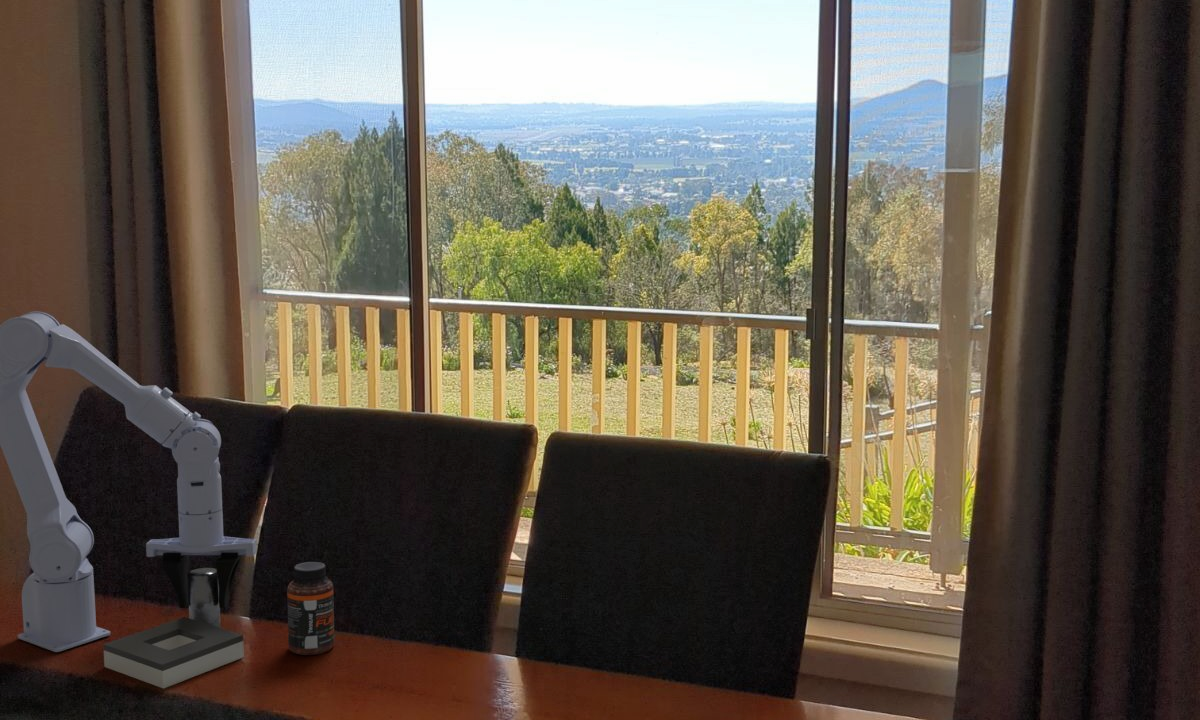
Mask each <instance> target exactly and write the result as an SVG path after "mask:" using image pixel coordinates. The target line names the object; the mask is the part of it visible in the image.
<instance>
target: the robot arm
mask: <svg viewBox="0 0 1200 720" xmlns="http://www.w3.org/2000/svg"><path fill="white" fill-rule="evenodd" d="M44 363H45V365H44V366H45V367H47V368H59V369H71V370H74V371H75V372H76V373H78V374H79V375H80V376H82V377H84V378H85V379H86V380H88V381H90V382H91V383H93V385H95V386H96V387H98V388H100V389H101V390H102V391H104V392H105V393H107V394H108V395H110V396H111V397H113V398H114V399H115V400H117V401H118V402H120V403H121V404H123V406H124V410H125V417H126V419H127V420H128V421H130V423H132V424H133V425H135V426H136V427H137V428H138V429H140V430H141V431H143V432H144V433H145V434H147V435H148V436H149V437H150V438H152V439H154V440H155V441H156V442H157V443H159V444H160V445H161V446H163V447H165V448H168V449H171V454H172V457H173V459H174V461H175V462H176V463H177V475H178V477H177V479H176V487H177V488H176V489H177V491H176V492H177V512H178V513H177V514H178V535H179V536H178V537H171V538H159V539H154V538H153V539H149V541H147V542H146V543H145V547H146V549H145V553H146V557H148V558H153V557H156V556H162V560H161V561H160V562H159V563H160V568H161V570H162V571H163V572H164V574H165V575H166V577H167V579H168V580H169V582H170V584H171V585H172V588H173V591H174V593H175V596H176V598H177V602H178V606H179V609H186V607H187V606H189V597H188V576H187V573H188V572H190V570H189V568H190V557H191V556H220V557H219V558H217V559H216V561H215V562H214V566H215V569H216V570H217V576H218V583H219V607H220V609H225V608H226V607H227V606H228V605H229V603H230V596H231V592H232V587H233V583H234V579H235V577H236V573H237V571H238V568H239V567H240V564H241V562H242V559H243V557H244V556H245V557H254V556H255V555H256V554H257V552H258V544H257V539H256V538H242V537H233V536H232V537H231V536H224V518H223V517H224V515H223V492H222V491H223V490H222V489H223V487H222V476H221V474H220V473H221V472H220V471H221V463H220V460H219V454H220V449H221V445H222V438H221V434H220V431H219V430H218V429H217V427H216V426H215V425H214V424H213V422H212V421H210V420H208V419H205V418H202V415H201V414H200V413H198V412H197V411H194V412H191V411H190V410H189V409H188V408H187V407H185V406H183V405H182V404H181V403H180V402H178V401H177V400H176V399H174V397H172V396H173V394H174V393H173V391H171V390H170V389H169V388H168V387H165V386H164V387H163V389H162V388H160V387H159V386H157V385H156V384H155V385H154V384H153V385H140V384H139V383H138V382H137V381H136V380H134V379H133V378H132V377H131V376H130V375H129V374H127V373H126V372H125V371H123V370H122V369H121V368H120V367H119V366H117V365H116V364H115V363H114V362H113V361H112V360H110V359H109V358H108V357H107V356H106V355H104V354H103V353H102V352H100V350H98V349H97V348H96V347H94V346H93V344H91V343H90V342H89V341H87V339H85V338H84V337H82V335H80V334H79V333H77V332H76V331H75V330H74V329H72V328H71V327H69V326H67V325H65V324H64V323H62V324H60V322H59V321H58V320H57V319H56V318H55V317H54V316H52V315H51V314H48V313H46V312H43V311H30V312H27V313H24V314H22V315H21V316H16V317H11V318H9V319H7V320H5V321H4V322H2V323H1V324H0V448H1V450H2V454H3V456H4V458H5V460H6V463H7V467H8V469H9V472H10V474H11V476H12V479H13V482H14V485H15V487H16V490H17V492H18V495H19V498H20V500H21V502H22V506H23V507H24V510H25V513H26V535H27V538H28V540H29V544H30V551H29V556H28V562H29V565H30V568H31V570H32V571H33V573H31V574H30V575H29V576H28V577H27V578H26V580H25V581H24V583H23V586H22V589H21V606H22V607H21V608H22V620H23V622H22V623H23V632H22V633H18V634H17V638H18V639H19V640H22V641H24V642H26V643H27V642H28V643H29V644H32V645H35V646H38V647H40V648H43V649H46V650H49V651H51V652H54V653H59V652H63V651H66V650H68V649H72V648H74V647H78V646H82V645H83V644H87V643H90V642H93V641H96V640H98V639H101V638H105V637H108V636H110V635H111V631H110V630H108V629H105V628H102V627H98V626H97V619H96V617H97V616H96V615H97V614H96V601H95V600H96V598H95V582H94V581H95V579H94V566H93V565H92V564H91V563H90V561H89V559H88V558H87V557H88V555H89V554H90V552H91V551H92V549H93V546H94V544H95V537H94V533H93V530H92V529H91V527H90V526H89V525H88V524H87V523H86V522H85V521H83V519H81V517H80V516H79V514H78V511H77V509H76V506H75V505H74V504H73V503H72V502H70V500H69V499H68V498H67V496H66V494H65V491H64V488H63V485H62V483H61V480H60V477H59V475H58V472H57V470H56V466H55V465H54V462H53V459H52V456H51V453H50V451H49V449H48V446H47V443H46V441H45V438H44V436H43V435H44V434H43V433H42V430H41V427H40V425H39V422H38V419H37V417H36V414H35V412H34V409H33V405H32V402H31V401H30V398H29V395H28V392H27V391H26V389H27V386H28V385H29V384H30V381H31V380H32V379H33V377H34V376H35V374H36V373H37V371H38V368H39V367H40V366H41V365H42V364H44Z"/></svg>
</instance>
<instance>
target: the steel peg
mask: <svg viewBox="0 0 1200 720" xmlns="http://www.w3.org/2000/svg"><path fill="white" fill-rule="evenodd" d="M187 576H188V597H189V604H188V612H189V613H188V615H189V617H188V618H190V619H193V620H196V621H199V622H203V623H206V624H209V625H212V626H216V627H219V628H222V627H221V608H220V607H219V583H218V576H217V570H216V568H213V567H201V568H196V569H193V570H189V572H188V573H187Z"/></svg>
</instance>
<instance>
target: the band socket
mask: <svg viewBox="0 0 1200 720" xmlns="http://www.w3.org/2000/svg"><path fill="white" fill-rule="evenodd" d="M102 646H103V663H104V668H106V669H109V670H112V671H114V672H117V673H121V674H123V675H126V676H128V677H131V678H134V679H137V680H139V681H141V682H145V683H147V684H150V685H153V686H155V687H158V688H160V689H166V688H169V687H171V686H174V685H177V684H179V683H182V682H184V681H186V680H189V679H192V678H193V677H196V676H199V675H202V674H204V673H206V672H210V671H212V670H214V669H218V668H219V667H222V666H224V665H225V666H226V665H227V664H230V663H233V662H235V661H238V660H241V659H242V658H243V659H244V657H245V653H244V652H245V651H244V650H245V649H244V648H245V647H244V634H241V633H238V632H235V631H231V630H228V629H226V628H222V627H220V628H219V627H216V626H212V625H209V624H206V623H203V622H199V621H196V620H193V619H190V618H189V617H186V616H183V617H180V618H177V619H174V620H170V621H168V622H165V623H162V624H159V625H157V626H153V627H150V628H147V629H145V630H141V631H138V632H135V633H133V634H129V635H127V636H124V637H123V636H122V637H121V638H118V639H115V640H112V641H109V642H105V643H103V645H102Z"/></svg>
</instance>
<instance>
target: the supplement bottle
mask: <svg viewBox="0 0 1200 720" xmlns="http://www.w3.org/2000/svg"><path fill="white" fill-rule="evenodd" d="M293 571H294V572H293V576H294V578H293V580H292V581H291V582H289V583H288V586H287V587H286V588H287V589H286V591H287V594H286V595H287V596H286V597H287V600H286V601H287V635H288V637H287V639H288V649H289V651H290V652H292V653H293V654H295V655H300V656H315V655H320V654H325V653H326V652H328V651H330V650H331V649H332V648H333V647H334V646H335V613H334V612H335V610H334V605H335V604H334V597H335V596H334V594H335V593H334V584H333V582H332V580H331V579H329V577H327V576H326V574H327V573H326V572H327V570H326V565H325V563H323V562H317V561H307V562H302V563H301V562H300V563H297V564H296V565H294V567H293Z"/></svg>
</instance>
